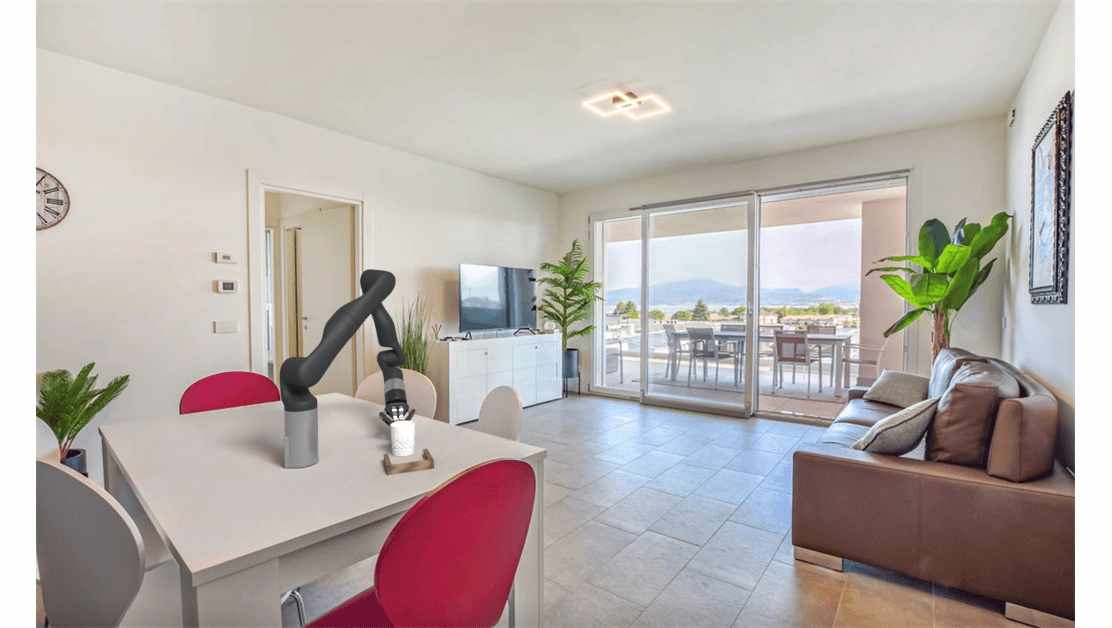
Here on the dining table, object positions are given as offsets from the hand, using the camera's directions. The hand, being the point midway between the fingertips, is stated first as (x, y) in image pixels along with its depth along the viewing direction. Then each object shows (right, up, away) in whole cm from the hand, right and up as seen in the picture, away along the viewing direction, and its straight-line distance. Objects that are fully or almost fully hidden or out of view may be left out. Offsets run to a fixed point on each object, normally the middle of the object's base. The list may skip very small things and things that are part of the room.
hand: (399, 435), depth 172 cm
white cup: (+4, -4, -8) cm, 10 cm away
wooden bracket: (+8, -5, -18) cm, 20 cm away
